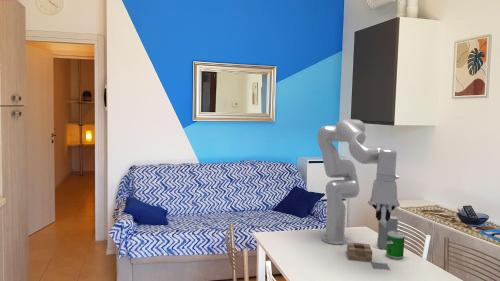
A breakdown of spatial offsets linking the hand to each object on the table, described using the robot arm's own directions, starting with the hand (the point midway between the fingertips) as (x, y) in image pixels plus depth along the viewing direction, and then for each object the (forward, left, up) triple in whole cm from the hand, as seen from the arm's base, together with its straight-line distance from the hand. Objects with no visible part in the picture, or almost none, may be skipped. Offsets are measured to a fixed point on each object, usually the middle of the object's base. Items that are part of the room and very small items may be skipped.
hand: (382, 219), depth 169 cm
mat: (0, 0, -21) cm, 21 cm away
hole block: (-9, -8, -21) cm, 24 cm away
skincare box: (-26, +7, -21) cm, 35 cm away
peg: (0, 0, -3) cm, 3 cm away
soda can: (-13, +9, -21) cm, 26 cm away
